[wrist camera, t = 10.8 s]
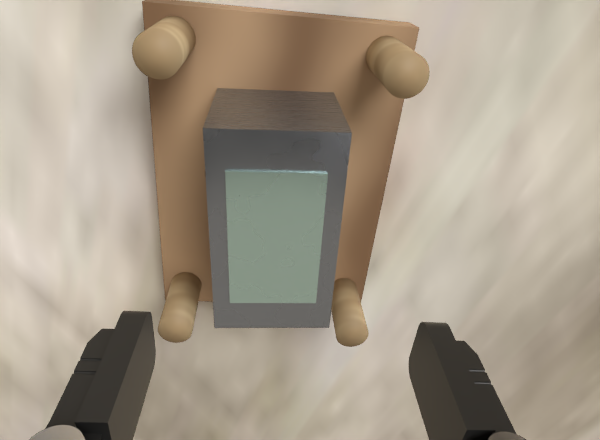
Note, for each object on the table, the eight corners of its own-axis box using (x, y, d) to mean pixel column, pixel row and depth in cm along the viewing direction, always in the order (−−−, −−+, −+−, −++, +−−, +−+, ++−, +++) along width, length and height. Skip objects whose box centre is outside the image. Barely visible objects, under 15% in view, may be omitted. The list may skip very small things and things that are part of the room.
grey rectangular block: (333, 92, 20) (352, 133, 15) (318, 260, 24) (329, 329, 20) (217, 87, 19) (202, 129, 15) (224, 259, 24) (214, 329, 19)
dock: (409, 22, 20) (448, 43, 15) (355, 289, 27) (371, 352, 23) (151, -3, 19) (115, 12, 14) (170, 282, 26) (150, 347, 22)
